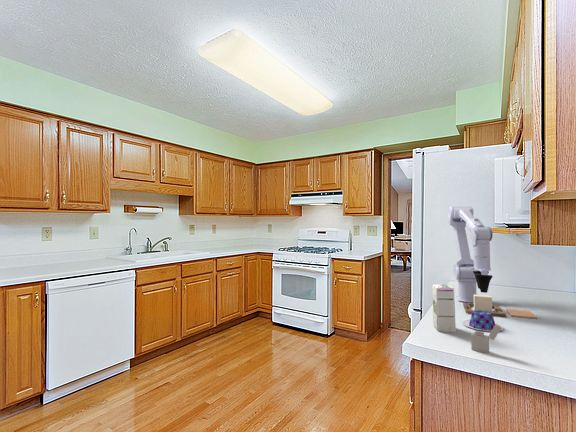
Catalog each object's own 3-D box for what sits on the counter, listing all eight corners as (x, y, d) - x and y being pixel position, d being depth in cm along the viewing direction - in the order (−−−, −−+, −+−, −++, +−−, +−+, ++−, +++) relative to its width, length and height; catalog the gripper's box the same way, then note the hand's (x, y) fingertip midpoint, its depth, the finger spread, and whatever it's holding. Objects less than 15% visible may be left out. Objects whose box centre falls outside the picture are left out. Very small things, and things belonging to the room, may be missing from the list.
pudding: (454, 324, 112) (454, 309, 112) (477, 320, 116) (477, 305, 116) (487, 335, 101) (487, 319, 101) (511, 330, 105) (511, 314, 105)
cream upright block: (473, 309, 130) (473, 294, 130) (491, 310, 127) (490, 295, 127) (474, 310, 127) (474, 296, 127) (492, 312, 125) (492, 297, 125)
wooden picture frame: (463, 304, 136) (462, 300, 136) (498, 307, 131) (498, 303, 131) (466, 313, 124) (466, 309, 124) (505, 317, 118) (505, 312, 118)
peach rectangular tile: (505, 309, 128) (505, 308, 128) (529, 311, 125) (529, 310, 125) (511, 316, 119) (511, 314, 119) (537, 319, 116) (537, 317, 116)
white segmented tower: (456, 332, 103) (455, 287, 103) (436, 331, 104) (436, 287, 104) (451, 326, 108) (450, 284, 109) (432, 325, 110) (431, 283, 110)
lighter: (471, 349, 89) (470, 321, 89) (472, 347, 90) (471, 319, 90) (501, 355, 85) (501, 326, 85) (502, 353, 86) (501, 324, 86)
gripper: (468, 254, 136) (469, 286, 136) (472, 258, 123) (473, 293, 122) (487, 255, 133) (488, 287, 133) (493, 258, 120) (494, 294, 119)
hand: (482, 290), depth 127 cm, fingers open, 7 cm apart
